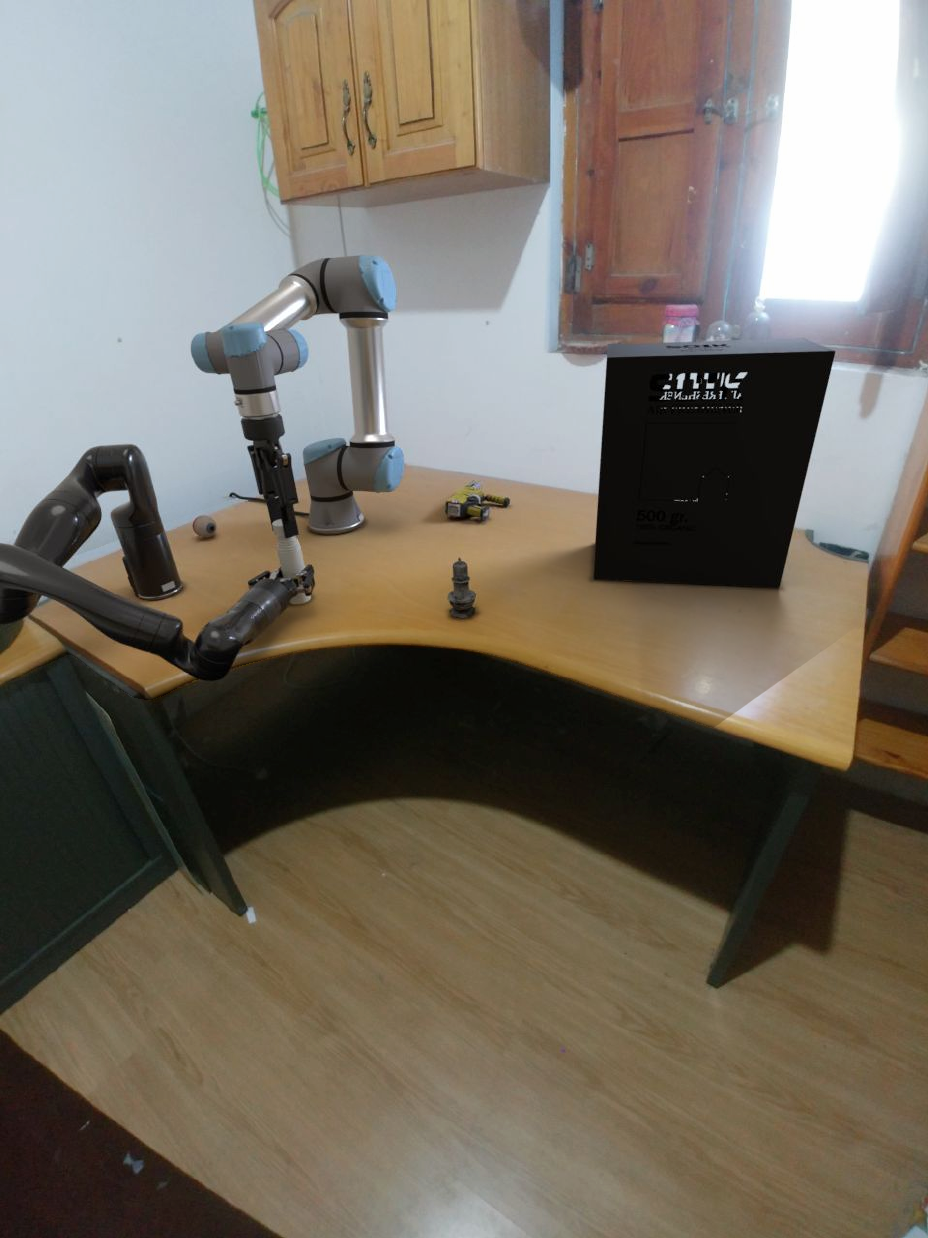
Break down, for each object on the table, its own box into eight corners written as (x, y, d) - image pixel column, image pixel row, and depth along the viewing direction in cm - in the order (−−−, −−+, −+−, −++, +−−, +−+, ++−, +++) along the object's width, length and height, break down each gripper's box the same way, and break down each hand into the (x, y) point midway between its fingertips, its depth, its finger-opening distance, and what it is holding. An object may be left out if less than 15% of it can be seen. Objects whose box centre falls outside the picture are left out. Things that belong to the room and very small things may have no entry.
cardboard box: (759, 548, 141) (803, 338, 119) (779, 587, 124) (835, 350, 102) (595, 543, 149) (607, 344, 126) (593, 579, 132) (607, 357, 109)
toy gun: (518, 485, 181) (471, 478, 185) (495, 509, 161) (443, 500, 165) (516, 500, 184) (470, 493, 188) (494, 525, 164) (442, 517, 168)
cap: (269, 535, 123) (267, 525, 121) (282, 527, 126) (280, 517, 125) (288, 537, 121) (286, 526, 120) (301, 529, 125) (299, 518, 124)
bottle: (310, 592, 134) (295, 518, 125) (311, 602, 130) (296, 526, 121) (288, 596, 133) (271, 522, 124) (289, 606, 129) (272, 530, 120)
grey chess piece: (474, 619, 120) (471, 564, 114) (445, 617, 121) (441, 563, 115) (479, 605, 124) (477, 551, 118) (451, 603, 126) (448, 550, 120)
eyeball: (206, 542, 163) (200, 521, 160) (191, 538, 166) (185, 518, 163) (224, 534, 167) (218, 514, 164) (209, 531, 170) (203, 510, 167)
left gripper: (233, 620, 119) (273, 581, 134) (299, 624, 117) (333, 584, 131) (223, 586, 116) (266, 550, 130) (292, 589, 113) (327, 552, 127)
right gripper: (221, 413, 116) (249, 527, 127) (264, 425, 104) (290, 549, 116) (257, 406, 120) (281, 517, 132) (302, 417, 108) (324, 538, 120)
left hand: (299, 567), depth 130 cm, fingers closed on bottle, 4 cm apart
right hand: (285, 532), depth 124 cm, fingers open, 5 cm apart
